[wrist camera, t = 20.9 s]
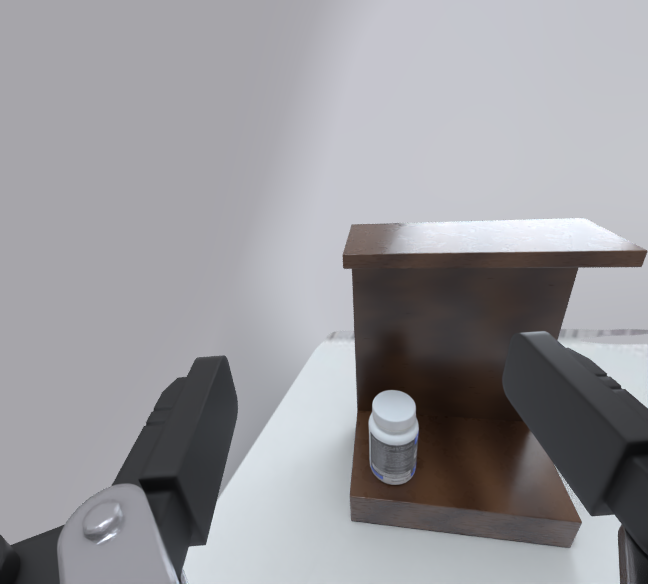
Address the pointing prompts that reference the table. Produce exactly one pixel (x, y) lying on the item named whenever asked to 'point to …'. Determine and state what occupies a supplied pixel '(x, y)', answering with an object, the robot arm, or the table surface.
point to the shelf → (465, 366)
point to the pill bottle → (393, 437)
